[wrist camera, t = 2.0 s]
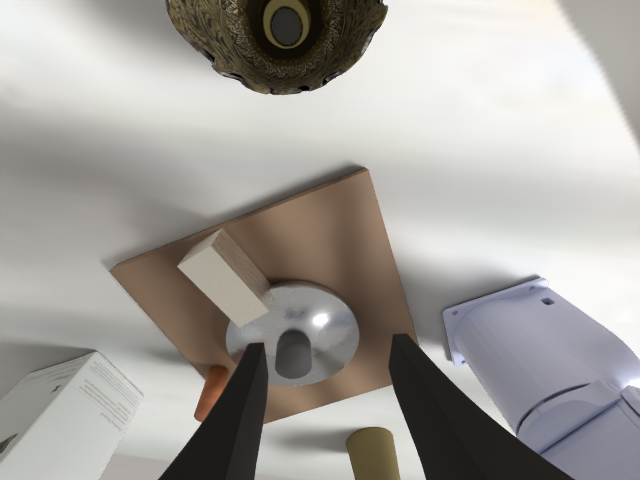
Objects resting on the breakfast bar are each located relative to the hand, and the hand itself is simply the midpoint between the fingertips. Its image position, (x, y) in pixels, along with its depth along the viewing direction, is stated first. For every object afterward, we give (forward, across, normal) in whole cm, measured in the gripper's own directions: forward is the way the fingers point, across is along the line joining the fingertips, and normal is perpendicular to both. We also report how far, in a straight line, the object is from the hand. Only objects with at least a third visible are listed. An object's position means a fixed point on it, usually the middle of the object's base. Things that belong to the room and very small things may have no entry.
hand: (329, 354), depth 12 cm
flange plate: (+9, +3, +5) cm, 11 cm away
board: (+10, +2, +8) cm, 13 cm away
